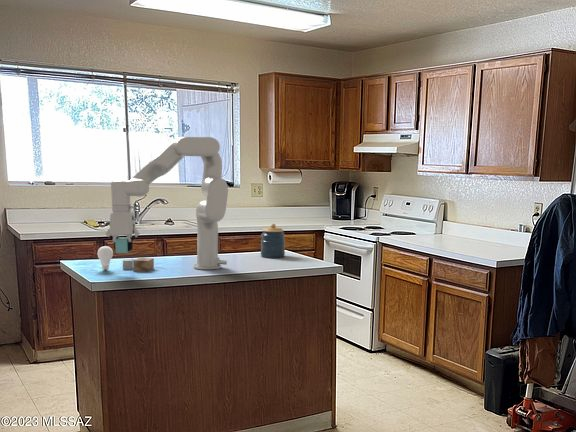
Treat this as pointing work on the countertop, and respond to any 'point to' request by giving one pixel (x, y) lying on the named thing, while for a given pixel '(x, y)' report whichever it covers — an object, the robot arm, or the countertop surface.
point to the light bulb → (105, 256)
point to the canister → (273, 242)
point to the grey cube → (128, 264)
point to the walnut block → (143, 264)
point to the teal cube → (121, 245)
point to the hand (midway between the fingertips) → (123, 250)
